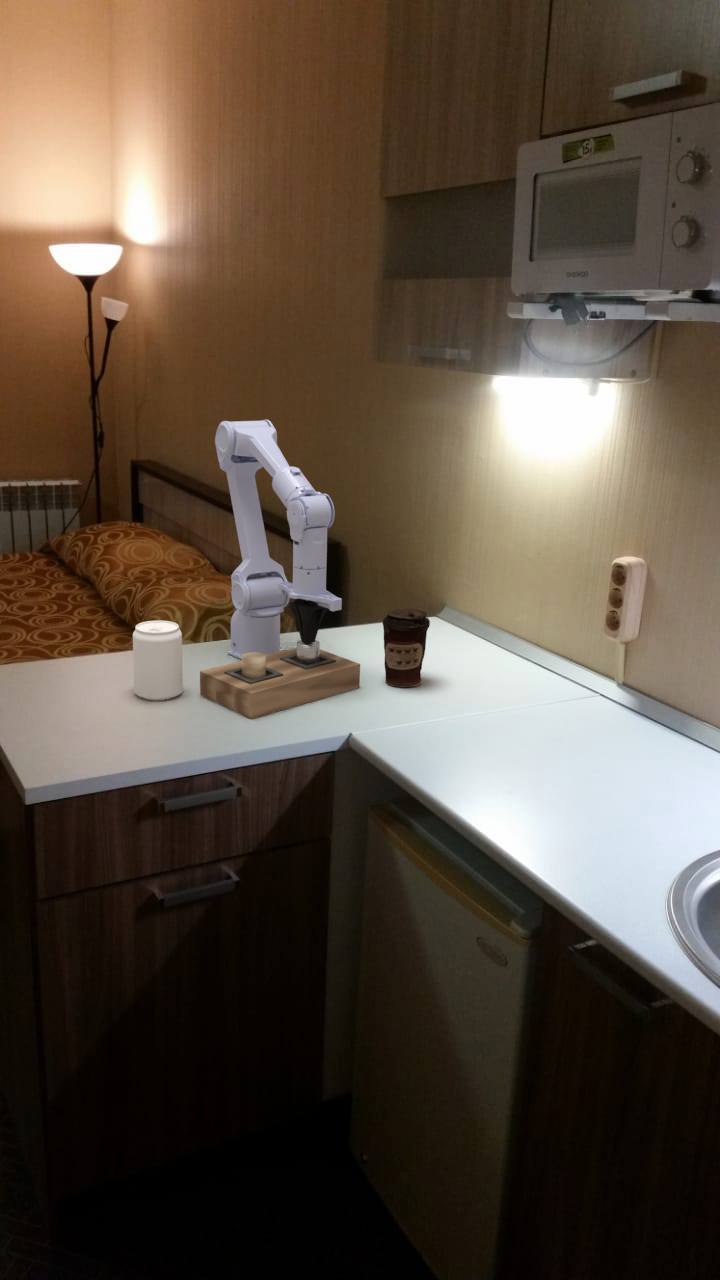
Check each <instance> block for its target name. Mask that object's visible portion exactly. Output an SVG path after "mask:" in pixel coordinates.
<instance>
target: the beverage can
mask: <svg viewBox="0 0 720 1280" xmlns="http://www.w3.org/2000/svg"><path fill="white" fill-rule="evenodd" d="M134 628H135V630H134V631H133V633H132V653H133V655H132V656H133V658H132V661H133V662H132V663H133V687H134V688H133V689H134V694H135V695H137V696H139V697H140V698H142V697H143V699H145V700H149V701H165V699H167V700H170V699H169V698H171V699H173V698H175V697H177V696H179V695H180V694H182V692H183V691H184V690H183V689H184V687H183V686H184V682H183V681H184V680H183V679H184V678H183V677H184V674H183V633H182V631H181V629H180V627H179V624H178V623H176V622H174V621H170V620H147V621H142V622H140V623H137V624H136V625H135V627H134ZM172 697H173V698H172Z"/></svg>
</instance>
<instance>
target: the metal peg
mask: <svg viewBox="0 0 720 1280" xmlns="http://www.w3.org/2000/svg"><path fill="white" fill-rule="evenodd" d="M320 646H321V643H320V641H318V640H317V639H315V642H312V643H308V644H306V643H303V642H302V641H301V639H300V640H297V641H296V648H297V662H299V663H301V664H304V665H310V664H314V663H318V662H319V653H320V649H321V647H320Z"/></svg>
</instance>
